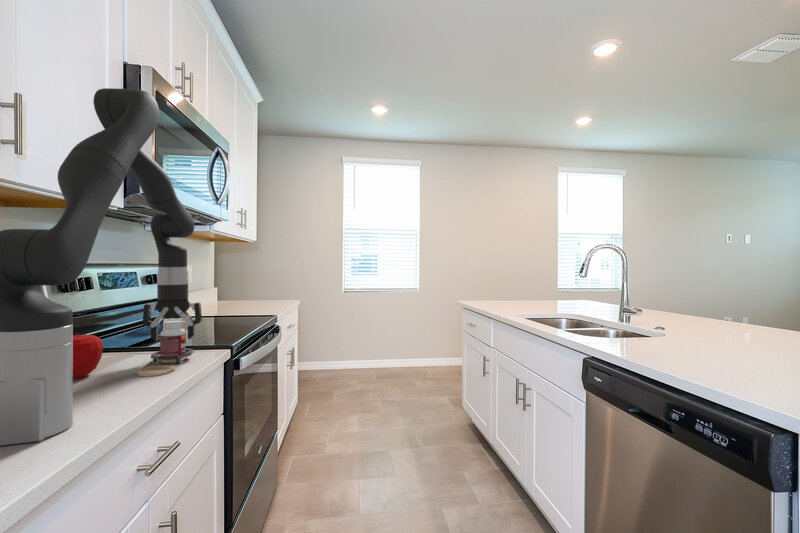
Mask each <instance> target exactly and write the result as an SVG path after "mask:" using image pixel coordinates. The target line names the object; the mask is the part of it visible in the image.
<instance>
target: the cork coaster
mask: <svg viewBox="0 0 800 533" xmlns="http://www.w3.org/2000/svg"><path fill="white" fill-rule="evenodd" d="M175 370H176V367H175V366H174V365H171V364H164V365H162V364H160V365H152V366H148V367H144V368H141V369H139V370H138V371H137V372H136V373H137V374H136V375H137V376H139V377H159V376H163V375H167V374H170V373H172V372H175Z"/></svg>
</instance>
